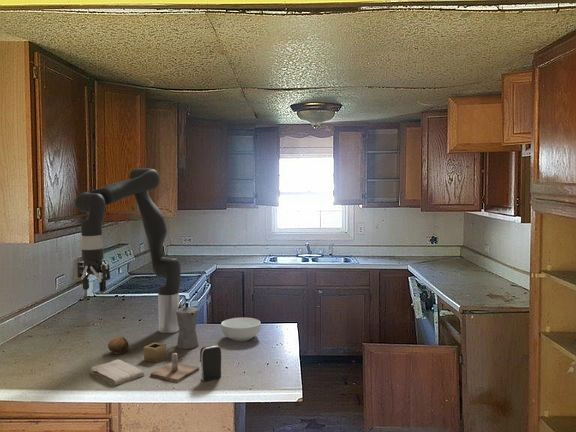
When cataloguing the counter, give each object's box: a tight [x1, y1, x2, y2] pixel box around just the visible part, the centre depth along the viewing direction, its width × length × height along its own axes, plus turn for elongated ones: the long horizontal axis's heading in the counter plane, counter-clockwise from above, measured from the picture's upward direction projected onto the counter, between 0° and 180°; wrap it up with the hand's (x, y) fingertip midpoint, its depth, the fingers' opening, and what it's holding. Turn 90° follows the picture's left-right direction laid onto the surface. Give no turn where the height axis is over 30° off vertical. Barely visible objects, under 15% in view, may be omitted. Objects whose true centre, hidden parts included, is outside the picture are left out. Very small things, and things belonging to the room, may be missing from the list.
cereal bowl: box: [220, 317, 261, 342], centre depth 218 cm, size 17×17×7 cm
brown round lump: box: [107, 336, 129, 355], centre depth 202 cm, size 8×8×6 cm
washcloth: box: [89, 359, 145, 386], centre depth 180 cm, size 12×18×3 cm, turn 50°
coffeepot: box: [176, 302, 199, 350], centre depth 210 cm, size 15×9×18 cm, turn 33°
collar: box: [143, 342, 168, 363], centre depth 195 cm, size 6×6×5 cm
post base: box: [150, 352, 200, 383], centre depth 180 cm, size 12×12×7 cm
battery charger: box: [199, 344, 222, 382], centre depth 176 cm, size 7×4×11 cm, turn 121°
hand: (94, 290), depth 188 cm, fingers open, 8 cm apart
